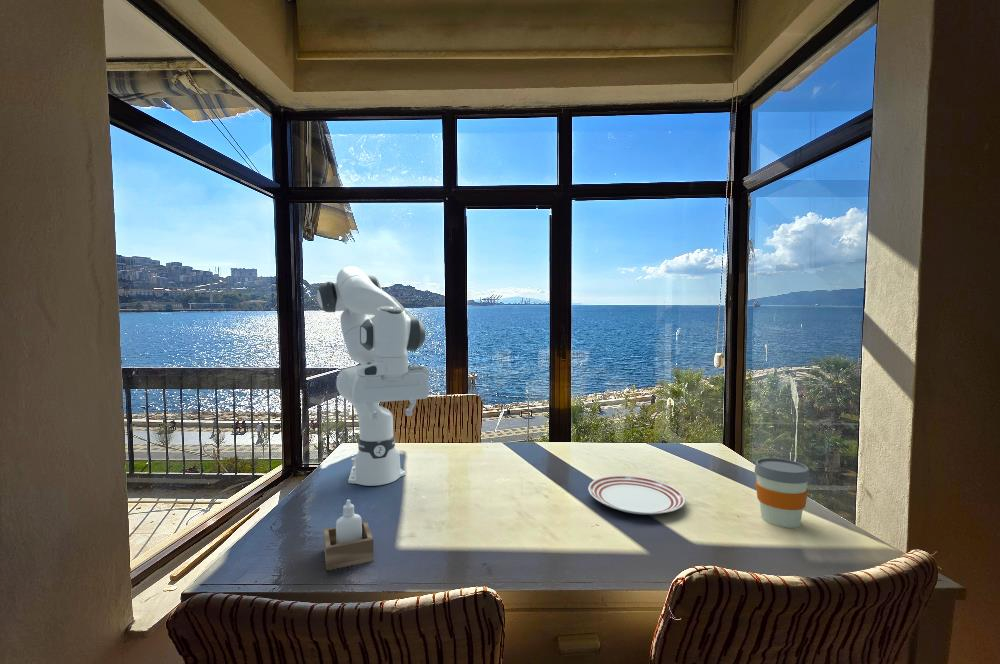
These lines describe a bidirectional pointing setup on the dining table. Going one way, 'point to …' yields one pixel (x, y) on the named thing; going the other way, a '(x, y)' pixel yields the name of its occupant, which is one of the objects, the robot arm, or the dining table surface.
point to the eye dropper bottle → (348, 525)
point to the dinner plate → (636, 494)
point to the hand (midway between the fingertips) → (391, 417)
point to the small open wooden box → (347, 549)
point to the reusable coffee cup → (781, 490)
